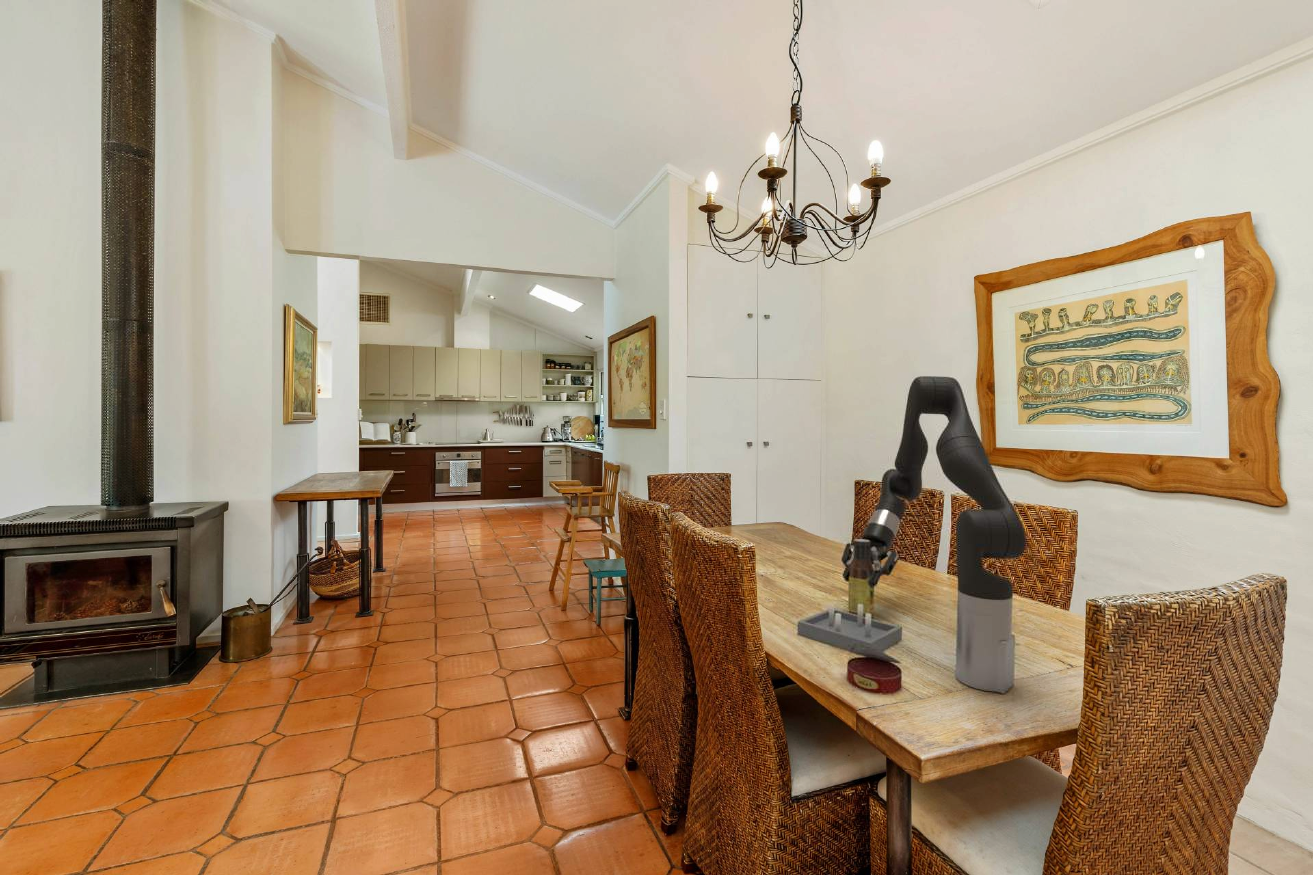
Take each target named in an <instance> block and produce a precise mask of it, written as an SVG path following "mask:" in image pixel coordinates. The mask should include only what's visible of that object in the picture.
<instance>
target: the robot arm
mask: <svg viewBox="0 0 1313 875" xmlns="http://www.w3.org/2000/svg"><path fill="white" fill-rule="evenodd" d="M905 406H906V407H905V413H904V420H903V429H902V435H901V440H900V443H899V444H900V445H899V447H898V450H897V453H896V457H895V459H894V468H890V469H888V470H886V471H885V472H884V473H883V476H882V478H881V488H880V497H879V500H878V502H877V504H876V506H875V510H874V512H872V515H871V516H870V518H869V520H868V522H867V525H866V527H865V529H864V530H863V533H862V535H861V537H860V539H865V540H869V541H870V547H869V549H870V551H869V555H870V560H871V563H872V566H874V567H873V568H874V571H873V572H872V574H871V577H870V579H869V582H868V584H869V585H870V587H874V588H875V587H876V586H878V584H879V581H880V578H881V577H882V576H884V575H886V576H890V575H891V574H892V572H893V570H894V568H895V566H897V563H898V561H899V559H900V558H899V555H898V554H897V552H896V551H894V550H893V551H890V550H891V548H892V545H893V543H894V541H895V538H896V536H897V534H898V530H899V527H900V524H901V521H902V518H903V516H904V515H905V512H906V508H907V507H906V504H905V502H904V501H903V500H902V499H904V500H906V501H914V500H917V499H918V498H919V496H920V495H921V493H922V489H923V479H922V471H923V467H924V464H925V461H926V459H927V456H928V453H929V443H928V439H927V437H926V435H925V433H924V431H923V429H922V427H921V425H920V424H921V423H920V417H921V415H922V414H923V415H924V414H925V415H944V416H945V417H946V418H947V420H948V423H946V424H947V425H946V427H945V428H944V429H943V431H942V432H941V433H940V435H939V437H938V439H937V442H936V445H935V453H936V456H937V458H938V459H937V460H938V463H939V465H940V468H941V470H942V473H943V474H944V476H945V477H946V478H947V480H948V481H949V482H951V484H953V485H954V486H955V487H957V488H958V489H959V490H960V491H962V492H963V493H964V494H966V495H967V496H968V497H970V498H971V499H972V500H974V501H975V502H976V504H977V505H979V507H980V508H981V509H964V510H961V512H959V515H958V516H957V519H956V522H955V523H956V524H955V548H956V550H955V551H956V576H957V602H956V606H957V608H956V610H957V611H956V642H955V643H956V644H955V645H956V646H955V677H956V679H957V680H958V681H959V682H961V683H962V684H963V685H966V686H968V687H971V688H974V689H978V690H981V691H985V692H986V691H987V692H997V693H1000V694H1005V693H1006V692H1007V691H1008V690H1009V689H1011V687H1013V686H1014V684H1015V661H1016V660H1015V657H1016V655H1015V654H1016V653H1015V652H1016V650H1015V649H1016V635H1014V634H1013V633H1012V629H1013V602H1014V601H1013V595H1014V588H1013V587H1014V585H1013V583H1012V581H1010V580H1009V579H1007V578H1006V577H1004V576H1001V575H999V574H996V573H993V572H990V571H989V570H987V569H986V568H984V564H983V559H997V560H998V559H1000V560H1010V559H1012V560H1013V559H1017V558H1020V557H1022V555H1023V554H1024V553H1025V550H1026V547H1027V537H1026V531H1025V528H1024V525H1023V523H1022V520H1021V518H1020V516H1019V515H1018V513H1017V511H1016V509H1015V507H1014V506H1013V504H1012V503H1011V500H1010V499H1009V497H1008V496H1007V494H1006V492H1005V491H1004V489H1003V487H1002V485H1001V484H1000V482H999V480H998V478H997V475H996V473H995V471H994V469H993V466H992V463H991V462H990V460H989V457H988V454H987V452H986V450H985V447H984V445H983V442H982V441H981V438H980V436H979V435H978V433H977V431H976V428H975V426H974V424H973V420H972V418H971V416H970V412H969V409H968V406H967V403H966V399H965V396H964V393H963V389H962V387H961V385H960V382H959V381H958V380H957V379H956V378H954V377H950V376H927V375H925V376H924V375H923V376H922V375H921V376H917V377H915V378H914V379H913V381H912V382H911V384H910V387H909V389H908V394H907V400H906V405H905ZM900 498H901V499H900ZM853 559H854V545H852V544H851V543H850V542H849V543H846V545H845V547H844V550H843V554H842V556H841V560H840V561H841V563H842V564H843V565H844V567H845V568H844V570H843V572H842V577H843V580H844V581H845V582H848V583H849V566H850V563H851V562H852V560H853ZM884 559H886V561H885V562H884V565H883V564H882V561H883V560H884Z"/></svg>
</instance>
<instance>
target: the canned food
mask: <svg viewBox="0 0 1313 875" xmlns="http://www.w3.org/2000/svg"><path fill="white" fill-rule="evenodd" d="M846 649H847V650H846V651H848V652H850V653H851V654H855V655H859V656H858V657H854V658H850V659H849V660H848V661H847V664H846V665H847V667H846V669H847V670H846V681H847V682H848V683H849V685H851V684H852V685H851V686H853V687H854V686H855V687H854V688H856V687H857V688H856V689H858V688H859V689H858V690H860V689H861V690H860V691H863V692H868V693H871V694H878V693H879V694H880V693H882V694H880V695H890V694H889V693H891V694H896V693H898V692H899V691H900V690H901V689H902V682H903V681H902V677H903V676H902V675H903V670H902V669H901V667H900V666H899V665H897V664H901V661H900V660H897V659H896V658H894V657H893V656H891V655H888V654H887V653H885V652H883V651H879V650H877V649H875V648H873V647H871V646H869V645H866V644H862V643H855V642H852V643H850V644H848V646H847V648H846ZM897 691H898V692H897ZM879 694H878V695H879Z"/></svg>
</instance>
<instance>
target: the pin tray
mask: <svg viewBox="0 0 1313 875" xmlns="http://www.w3.org/2000/svg"><path fill="white" fill-rule="evenodd" d="M799 634H800V635H799ZM797 635H799V636H803V637H806V638H807V639H808V638H809V639H811V640H814V641H818V642H821V643H824V644H827V645H830V646H834V647H837V648H839V649H843V650H846V651H848V650H847V649H846V648H847V646H848V644H850V643H852V642H855V643H862V644H866V645H869V646H871V647H873V648H875V649H877V650H879V651H881V652H883V651H885V650H887V649H888V648H890V647H892V646H894V645H895V644H897V643H899V642H901V641H903V627H902V626H900V625H895V624H893V623H888V622H885V621H881V620H877V619H875V618H874V619H873V618H872V619H871V614H869V613H866V617H863V605H862V604H858V615H855V614H851V613H849V611H848V612H846V611H844V610H841V609H840V610H839V609H836V608H835V604H834V603H829V604H828V609H826V610H822V611H821V612H818V613H816V614H812V615H810V616H809V617H805V618H803V619H800V620H798V621H797Z"/></svg>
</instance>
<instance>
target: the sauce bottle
mask: <svg viewBox="0 0 1313 875" xmlns="http://www.w3.org/2000/svg"><path fill="white" fill-rule="evenodd" d="M852 546H854V554H853V555H854V559H853V560H852V562H851V563H850V566H849V582H848V595H847V596H848V601H847V602H848V603H847V605H848V608H847V609H848V613H851V614H855V615H858V604H862V605H863V617H866V613H869V614H871V619H873V618H874V613H875V586H874V587H870V585H869V584H868V582H869V579H870V577H871V574H872V572H873V571H875V568H874V567H873V566H874V565H873V564H872V563H871V560H870V555H869V551H870V549H869V547H870V541H869V540H865V539H861V538H855V539H853V545H852Z"/></svg>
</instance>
